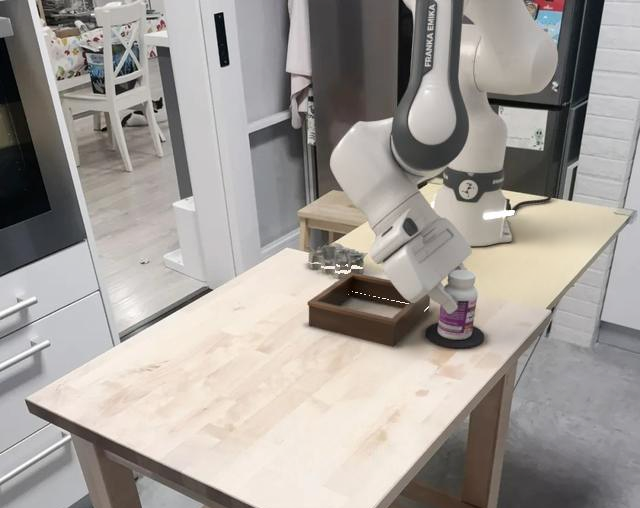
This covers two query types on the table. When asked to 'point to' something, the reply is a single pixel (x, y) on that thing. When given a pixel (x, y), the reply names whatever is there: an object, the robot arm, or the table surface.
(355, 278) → the wooden square frame
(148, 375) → the table surface
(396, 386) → the table surface
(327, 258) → the egg carton
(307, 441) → the table surface
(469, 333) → the pill bottle
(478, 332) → the coaster
